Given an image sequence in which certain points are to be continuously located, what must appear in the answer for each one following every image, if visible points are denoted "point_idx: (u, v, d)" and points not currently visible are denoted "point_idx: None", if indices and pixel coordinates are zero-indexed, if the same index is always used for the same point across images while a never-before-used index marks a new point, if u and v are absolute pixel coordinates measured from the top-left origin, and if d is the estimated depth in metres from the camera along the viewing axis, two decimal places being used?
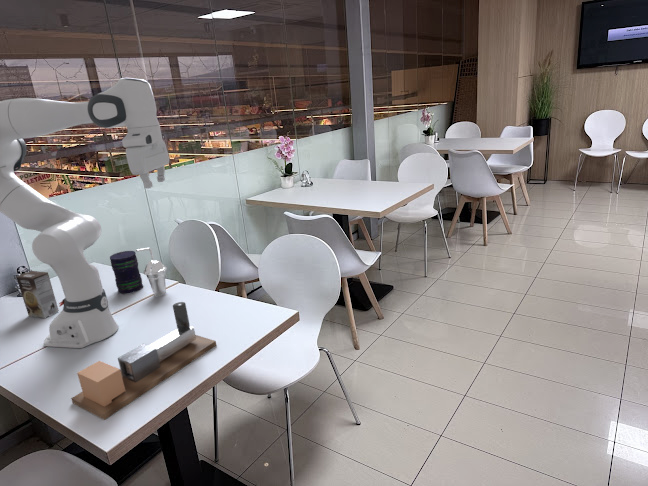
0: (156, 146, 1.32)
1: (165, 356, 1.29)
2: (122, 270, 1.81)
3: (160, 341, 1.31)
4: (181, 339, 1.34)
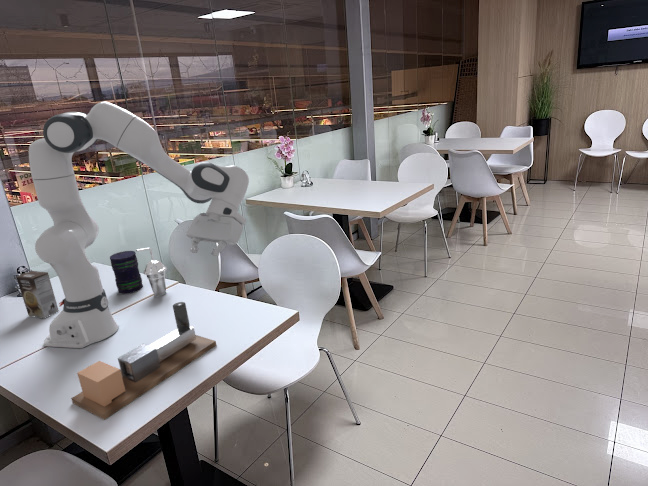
0: None
1: (165, 356, 1.29)
2: (122, 270, 1.81)
3: (160, 341, 1.31)
4: (181, 339, 1.34)
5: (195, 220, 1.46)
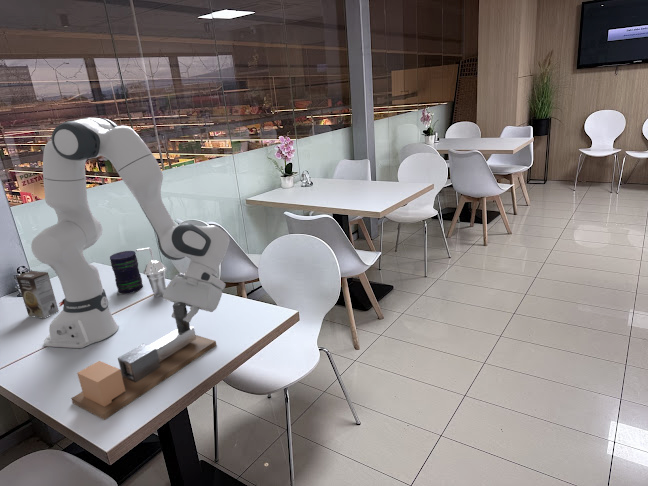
0: None
1: (165, 356, 1.29)
2: (122, 270, 1.81)
3: (160, 341, 1.31)
4: (181, 339, 1.34)
5: (173, 282, 1.41)
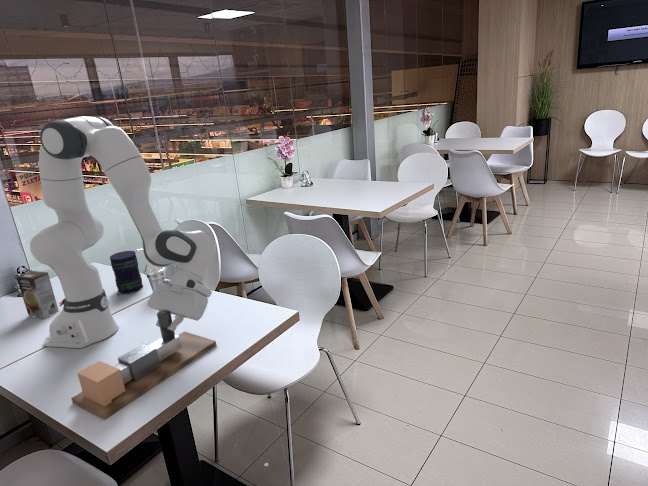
0: None
1: None
2: (122, 270, 1.81)
3: None
4: (166, 348, 1.29)
5: (157, 289, 1.37)
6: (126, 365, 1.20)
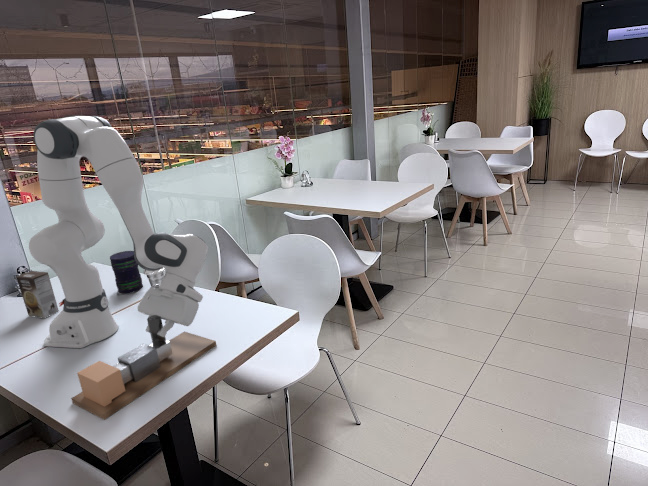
0: None
1: None
2: (122, 270, 1.81)
3: None
4: None
5: (148, 294, 1.34)
6: None
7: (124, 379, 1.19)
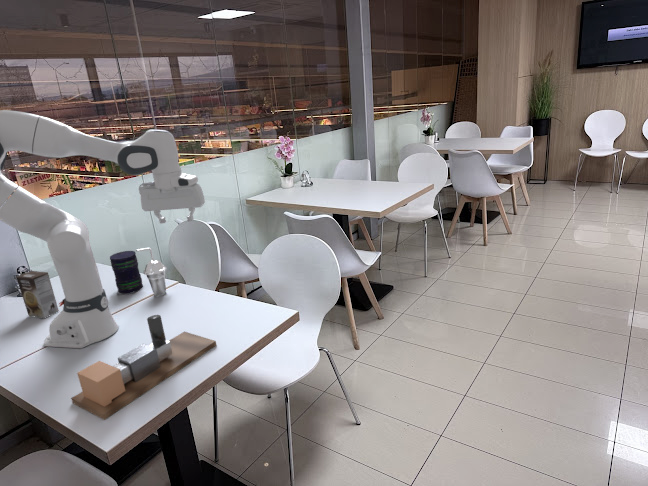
0: None
1: None
2: (122, 270, 1.81)
3: None
4: None
5: (145, 195, 1.48)
6: None
7: (124, 379, 1.19)
